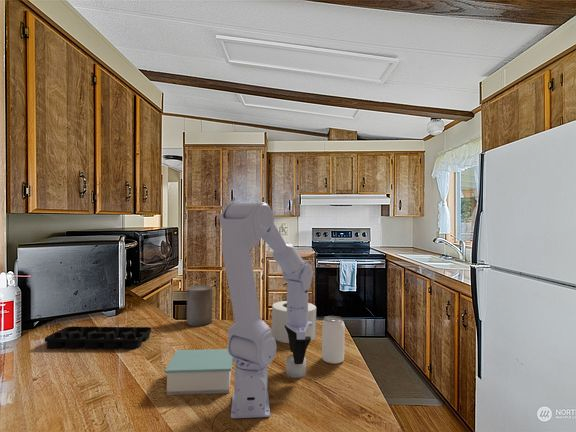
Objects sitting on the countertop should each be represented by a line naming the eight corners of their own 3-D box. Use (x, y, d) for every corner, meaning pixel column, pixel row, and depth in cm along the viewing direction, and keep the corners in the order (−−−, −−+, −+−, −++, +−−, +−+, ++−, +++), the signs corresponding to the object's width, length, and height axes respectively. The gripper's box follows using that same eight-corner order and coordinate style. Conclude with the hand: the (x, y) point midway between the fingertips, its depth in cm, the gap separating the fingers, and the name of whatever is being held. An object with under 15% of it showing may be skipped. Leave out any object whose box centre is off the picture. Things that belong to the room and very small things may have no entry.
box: (228, 393, 77) (229, 371, 77) (166, 395, 76) (167, 373, 76) (231, 370, 89) (232, 351, 89) (177, 371, 88) (178, 352, 88)
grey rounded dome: (307, 378, 86) (307, 362, 86) (287, 378, 85) (287, 362, 85) (304, 369, 91) (304, 354, 91) (285, 369, 90) (285, 354, 91)
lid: (231, 371, 77) (231, 368, 77) (164, 373, 75) (165, 370, 75) (233, 351, 89) (233, 348, 89) (176, 352, 88) (176, 350, 88)
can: (326, 365, 93) (327, 322, 94) (318, 356, 100) (319, 316, 100) (347, 363, 95) (348, 321, 95) (338, 354, 101) (339, 314, 102)
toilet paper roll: (321, 333, 121) (322, 303, 121) (304, 347, 107) (305, 313, 107) (283, 326, 128) (284, 298, 128) (263, 338, 114) (263, 307, 114)
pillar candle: (215, 319, 135) (215, 282, 135) (206, 326, 125) (207, 286, 125) (192, 318, 136) (192, 281, 136) (182, 325, 126) (182, 286, 126)
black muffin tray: (59, 337, 112) (59, 326, 112) (154, 332, 119) (154, 321, 119) (33, 358, 95) (33, 345, 95) (145, 350, 102) (146, 338, 102)
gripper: (317, 313, 82) (316, 369, 82) (307, 299, 96) (306, 346, 96) (289, 313, 81) (288, 369, 81) (283, 299, 95) (282, 347, 95)
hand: (296, 357), depth 88 cm, fingers open, 7 cm apart
